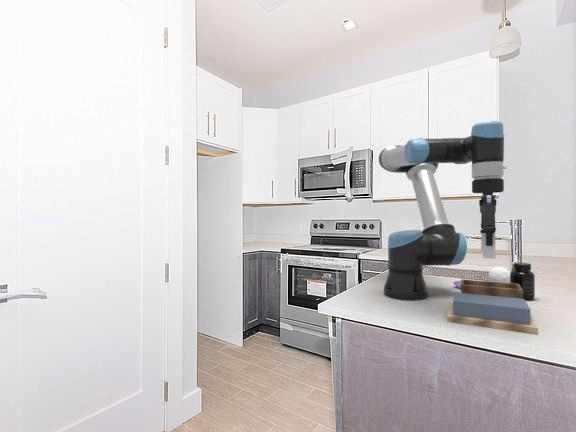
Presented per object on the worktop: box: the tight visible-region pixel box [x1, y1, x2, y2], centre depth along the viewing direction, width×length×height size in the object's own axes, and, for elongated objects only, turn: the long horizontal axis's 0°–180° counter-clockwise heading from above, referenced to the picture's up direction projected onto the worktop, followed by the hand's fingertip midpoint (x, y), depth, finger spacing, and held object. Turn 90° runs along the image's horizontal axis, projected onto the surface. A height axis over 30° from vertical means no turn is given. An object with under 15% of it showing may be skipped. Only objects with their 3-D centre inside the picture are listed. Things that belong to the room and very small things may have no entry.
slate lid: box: [452, 291, 531, 325], centre depth 89 cm, size 17×10×4 cm, turn 60°
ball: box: [488, 266, 511, 283], centre depth 127 cm, size 8×8×8 cm
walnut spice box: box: [460, 278, 523, 299], centre depth 101 cm, size 16×9×7 cm, turn 60°
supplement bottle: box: [509, 261, 536, 302], centre depth 109 cm, size 7×7×12 cm
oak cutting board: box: [446, 302, 539, 335], centre depth 89 cm, size 20×14×2 cm
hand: (487, 254), depth 89 cm, fingers open, 13 cm apart
